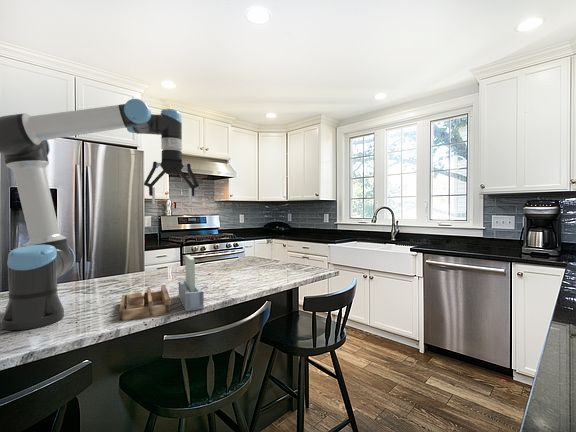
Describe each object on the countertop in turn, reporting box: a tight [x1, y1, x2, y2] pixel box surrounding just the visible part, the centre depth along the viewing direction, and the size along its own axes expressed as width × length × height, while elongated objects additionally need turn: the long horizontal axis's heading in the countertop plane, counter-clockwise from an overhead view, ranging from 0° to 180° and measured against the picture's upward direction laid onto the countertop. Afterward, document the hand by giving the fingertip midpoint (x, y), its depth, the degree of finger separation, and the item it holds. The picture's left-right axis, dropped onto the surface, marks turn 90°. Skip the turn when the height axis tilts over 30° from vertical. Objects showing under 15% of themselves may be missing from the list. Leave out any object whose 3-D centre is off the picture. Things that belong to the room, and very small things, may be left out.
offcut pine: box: [127, 290, 146, 305], centre depth 111 cm, size 5×6×4 cm
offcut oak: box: [126, 299, 145, 309], centre depth 102 cm, size 5×6×4 cm
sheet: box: [184, 254, 196, 293], centre depth 115 cm, size 2×12×16 cm, turn 26°
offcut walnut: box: [128, 293, 143, 306], centre depth 102 cm, size 4×5×2 cm
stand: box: [178, 280, 205, 312], centre depth 115 cm, size 6×20×6 cm, turn 26°
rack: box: [118, 285, 171, 322], centre depth 108 cm, size 15×20×5 cm
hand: (172, 204), depth 121 cm, fingers open, 13 cm apart
